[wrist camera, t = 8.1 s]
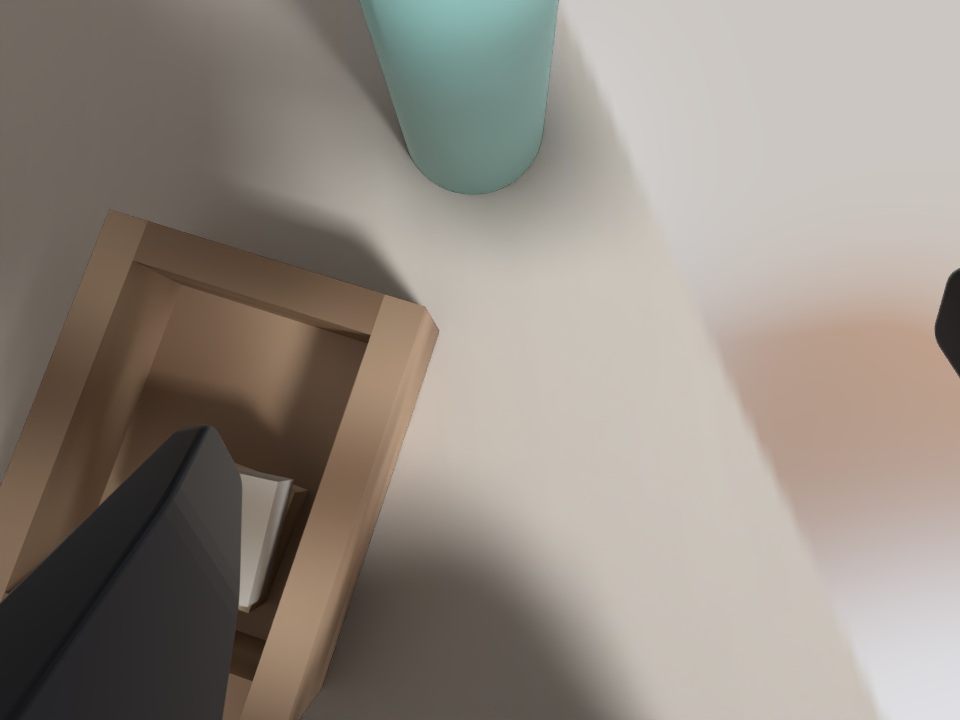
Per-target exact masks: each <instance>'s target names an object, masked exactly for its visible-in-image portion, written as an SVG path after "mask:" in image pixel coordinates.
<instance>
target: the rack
mask: <svg viewBox="0 0 960 720" xmlns="http://www.w3.org/2000/svg"><path fill="white" fill-rule="evenodd" d="M438 334H439V329H438V328H437V326H436V324H435V322H434V321H433V319H432V317H431V315H430V314H429V312H428V310H427V308H426V307H425V306H421V305H418V304H415V303H412V302H408V301H405V300H402V299H399V298H395V297H392V296H389V295H386V294H382V293H379V292H376V291H373V290H370V289H366V288H363V287H360V286H357V285H353V284H350V283H347V282H344V281H340V280H337V279H334V278H331V277H327V276H324V275H321V274H318V273H314V272H311V271H308V270H305V269H301V268H298V267H295V266H292V265H288V264H285V263H282V262H279V261H275V260H272V259H269V258H266V257H262V256H259V255H256V254H253V253H249V252H246V251H243V250H240V249H237V248H233V247H230V246H227V245H224V244H220V243H217V242H214V241H211V240H207V239H204V238H201V237H198V236H194V235H191V234H188V233H185V232H181V231H178V230H175V229H172V228H168V227H165V226H162V225H159V224H155V223H152V222H149V221H146V220H142V219H139V218H136V217H133V216H129V215H126V214H123V213H120V212H116V211H113V210H110V209H109V212H108V214H107V217H106V220H105V222H104V225H103V227H102V230H101V232H100V235H99V237H98V240H97V242H96V245H95V247H94V250H93V253H92V255H91V258H90V260H89V263H88V265H87V268H86V270H85V273H84V275H83V278H82V281H81V283H80V286H79V288H78V291H77V293H76V296H75V298H74V301H73V303H72V306H71V308H70V311H69V314H68V316H67V319H66V321H65V324H64V326H63V329H62V331H61V334H60V336H59V339H58V341H57V344H56V347H55V349H54V352H53V354H52V357H51V359H50V362H49V364H48V367H47V369H46V372H45V375H44V377H43V380H42V382H41V385H40V387H39V390H38V392H37V395H36V397H35V400H34V402H33V405H32V408H31V410H30V413H29V415H28V418H27V420H26V423H25V425H24V428H23V430H22V433H21V435H20V438H19V441H18V443H17V446H16V448H15V451H14V453H13V456H12V458H11V461H10V463H9V466H8V469H7V471H6V474H5V476H4V479H3V481H2V484H1V486H0V602H1V601H2V600H3V599H4V598H5V597H6V596H7V595H8V594H9V593H10V592H11V591H12V590H13V589H14V588H15V587H17V586H18V585H19V584H20V583H21V582H22V581H23V580H24V579H25V578H26V577H27V576H28V575H29V574H30V573H31V572H32V571H33V570H34V569H35V568H36V567H37V566H38V565H39V564H40V563H41V562H42V561H43V560H44V559H45V558H46V557H47V556H48V555H49V554H50V553H51V552H52V551H53V550H54V549H55V548H56V547H57V546H58V545H59V544H60V543H61V542H62V541H63V540H64V539H65V538H67V537H68V536H69V535H70V534H71V533H72V532H73V531H74V530H75V529H76V528H77V527H78V526H79V525H80V524H81V523H82V522H83V521H84V520H85V519H86V518H87V517H88V516H89V515H90V514H91V513H92V512H93V511H94V510H95V509H96V508H97V507H98V506H99V505H100V504H101V503H102V502H103V501H104V500H105V499H106V498H107V497H108V496H109V495H110V494H111V493H112V492H113V491H114V490H115V489H116V488H117V487H119V486H120V485H121V484H122V483H123V482H124V481H125V480H126V479H127V478H128V477H129V476H130V475H131V474H132V473H133V472H134V471H135V470H136V469H137V468H138V467H139V466H140V465H141V464H142V463H143V462H144V461H145V460H146V459H147V458H148V457H149V456H150V455H151V454H152V453H153V452H154V451H155V450H156V449H157V448H158V447H159V446H160V445H161V444H162V443H163V442H164V441H165V440H166V439H167V438H168V437H169V436H170V435H172V434H173V433H174V432H175V431H177V430H180V429H184V428H189V427H194V426H198V425H203V424H208V425H211V426H213V427H214V428H215V429H216V430H217V432H218V433H219V435H220V437H221V439H222V440H223V442H224V444H225V446H226V448H227V450H228V452H229V453H230V455H231V457H232V459H233V461H234V463H237V464H240V465H243V466H245V467H248V468H251V469H253V470H256V471H259V472H262V473H266V474H271V475H275V476H280V477H285V478H289V479H294V481H293V485H296V486H299V487H301V488H304V489H307V490H308V493H307V495H306V498H305V501H304V503H303V506H302V508H301V511H300V514H299V516H298V519H297V522H296V524H295V527H294V529H293V532H292V535H291V537H290V540H289V543H288V545H287V548H286V551H285V553H284V556H283V558H282V561H281V564H280V566H279V569H278V572H277V574H276V577H275V580H274V582H273V585H272V587H271V590H270V593H269V595H268V598H267V601H266V602H265V603H264V604H262V605H261V606H259V607H258V608H256V609H254V610H253V611H251V612H250V613H246V612H244V611H241V610H239V609H238V615H237V623H236V630H235V637H234V644H233V651H232V658H231V664H230V671H229V678H228V685H227V692H226V699H225V706H224V713H223V719H222V720H298V719H299V718H300V717H301V715H302V714H303V713H304V712H305V710H306V709H307V708H308V706H309V705H310V704H311V702H312V701H313V700H314V699H315V697H316V696H317V695H318V693H319V692H320V691H321V688H322V685H323V682H324V679H325V676H326V673H327V670H328V667H329V664H330V661H331V658H332V655H333V652H334V649H335V646H336V643H337V640H338V637H339V634H340V631H341V628H342V625H343V622H344V619H345V616H346V613H347V610H348V607H349V604H350V601H351V598H352V595H353V591H354V588H355V585H356V582H357V579H358V576H359V573H360V570H361V567H362V564H363V561H364V558H365V555H366V552H367V549H368V546H369V543H370V540H371V537H372V534H373V531H374V528H375V525H376V522H377V519H378V516H379V513H380V510H381V507H382V504H383V501H384V498H385V495H386V491H387V488H388V485H389V482H390V479H391V476H392V473H393V470H394V467H395V464H396V461H397V458H398V455H399V452H400V449H401V446H402V443H403V440H404V437H405V434H406V431H407V428H408V425H409V422H410V419H411V416H412V413H413V410H414V407H415V404H416V401H417V398H418V395H419V391H420V388H421V385H422V382H423V379H424V376H425V373H426V370H427V367H428V364H429V361H430V358H431V355H432V352H433V349H434V346H435V343H436V340H437V337H438Z"/></svg>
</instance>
